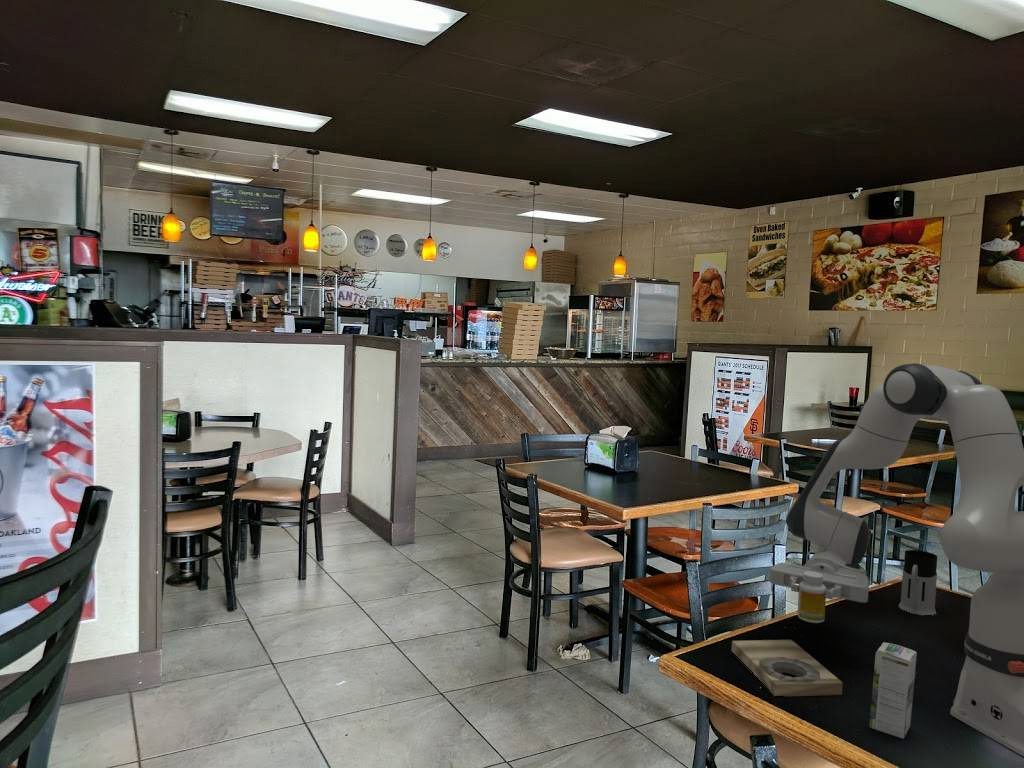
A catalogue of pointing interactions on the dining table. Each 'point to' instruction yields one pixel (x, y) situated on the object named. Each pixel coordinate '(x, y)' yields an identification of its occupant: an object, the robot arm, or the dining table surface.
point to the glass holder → (919, 582)
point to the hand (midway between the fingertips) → (811, 591)
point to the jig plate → (786, 668)
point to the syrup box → (893, 689)
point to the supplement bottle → (812, 598)
